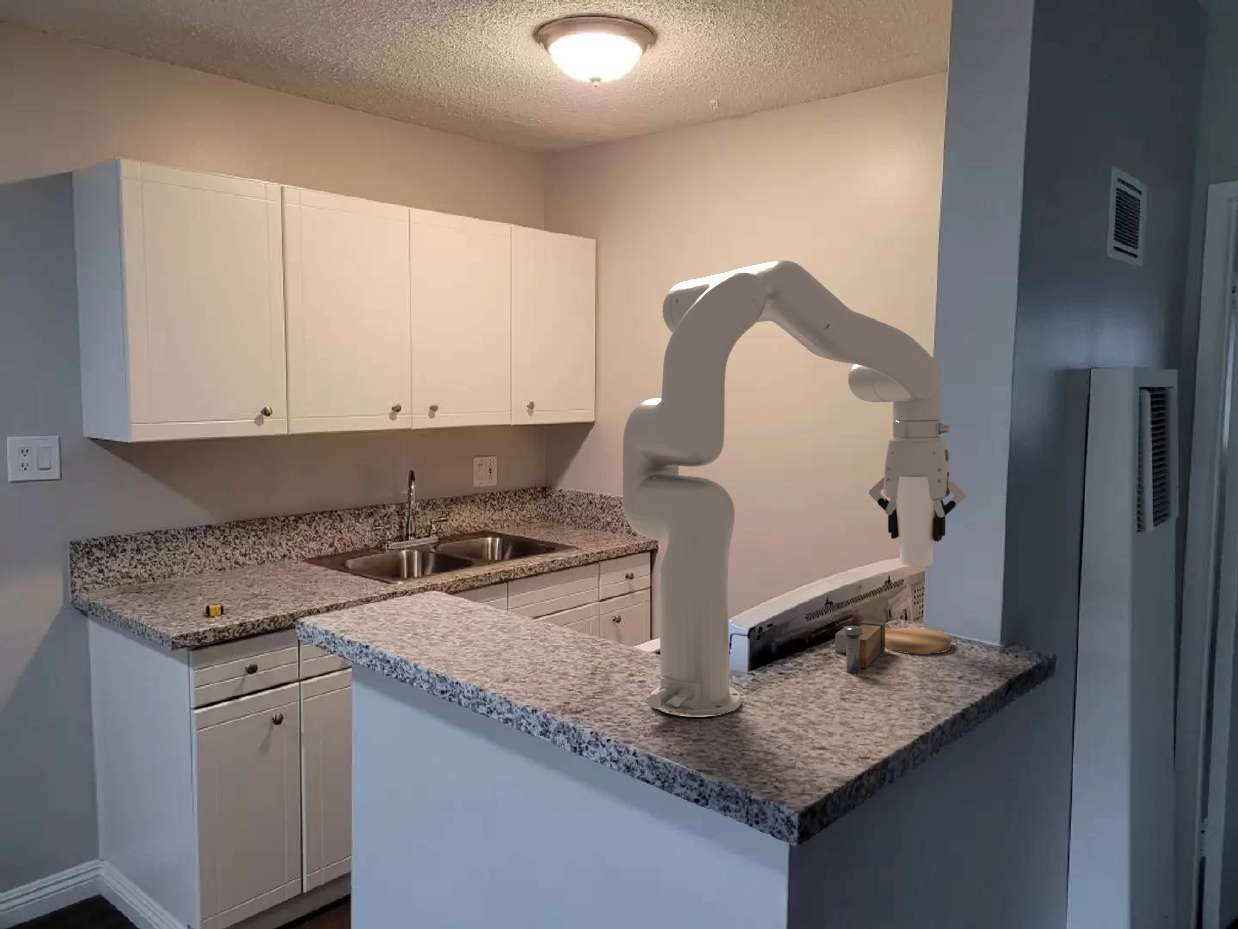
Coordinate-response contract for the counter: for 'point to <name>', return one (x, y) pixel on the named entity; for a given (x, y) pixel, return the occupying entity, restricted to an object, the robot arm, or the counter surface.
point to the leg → (871, 641)
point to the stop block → (840, 641)
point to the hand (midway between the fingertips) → (916, 538)
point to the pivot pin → (853, 648)
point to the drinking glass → (915, 521)
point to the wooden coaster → (917, 640)
